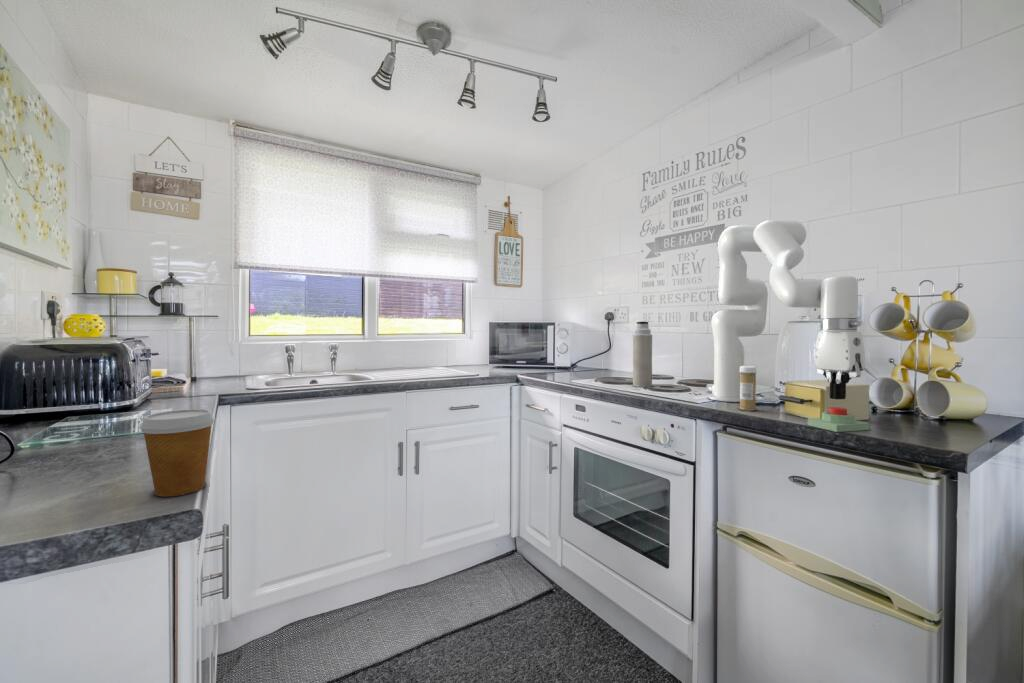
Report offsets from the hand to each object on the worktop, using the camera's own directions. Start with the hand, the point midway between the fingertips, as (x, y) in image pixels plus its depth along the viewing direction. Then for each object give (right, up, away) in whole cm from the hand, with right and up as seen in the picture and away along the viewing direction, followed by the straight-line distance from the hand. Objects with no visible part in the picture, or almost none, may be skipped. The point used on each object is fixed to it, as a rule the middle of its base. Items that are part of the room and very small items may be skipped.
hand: (837, 398), depth 112 cm
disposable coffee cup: (-135, -9, -42) cm, 141 cm away
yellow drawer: (+3, -6, +13) cm, 15 cm away
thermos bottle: (-25, -5, +81) cm, 85 cm away
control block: (0, -7, 0) cm, 7 cm away
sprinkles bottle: (-10, -7, +25) cm, 27 cm away
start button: (0, -4, 0) cm, 4 cm away
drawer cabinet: (+7, -7, +14) cm, 17 cm away
